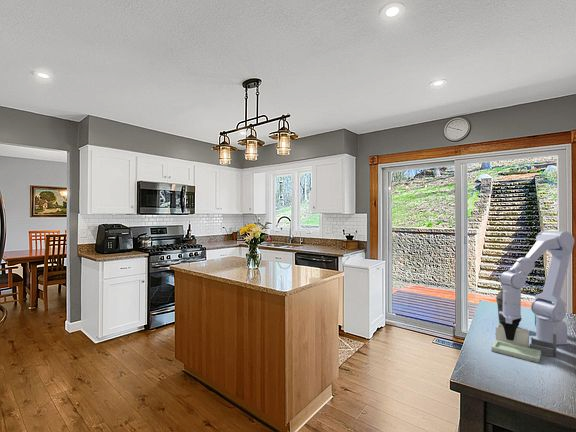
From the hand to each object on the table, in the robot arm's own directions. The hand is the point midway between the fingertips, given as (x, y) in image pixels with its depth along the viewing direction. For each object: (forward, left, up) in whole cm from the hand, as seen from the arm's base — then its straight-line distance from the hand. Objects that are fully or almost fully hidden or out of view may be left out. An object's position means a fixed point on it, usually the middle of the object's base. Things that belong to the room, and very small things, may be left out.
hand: (511, 337), depth 121 cm
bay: (-7, +7, -2) cm, 10 cm away
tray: (+5, +8, -2) cm, 10 cm away
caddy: (0, 0, -2) cm, 2 cm away
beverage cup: (-15, -20, -2) cm, 25 cm away
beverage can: (-27, -13, -2) cm, 30 cm away
